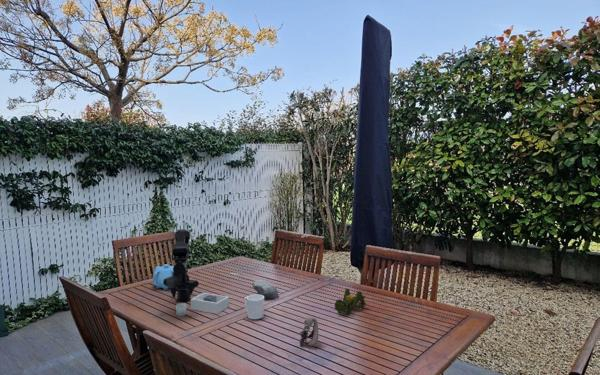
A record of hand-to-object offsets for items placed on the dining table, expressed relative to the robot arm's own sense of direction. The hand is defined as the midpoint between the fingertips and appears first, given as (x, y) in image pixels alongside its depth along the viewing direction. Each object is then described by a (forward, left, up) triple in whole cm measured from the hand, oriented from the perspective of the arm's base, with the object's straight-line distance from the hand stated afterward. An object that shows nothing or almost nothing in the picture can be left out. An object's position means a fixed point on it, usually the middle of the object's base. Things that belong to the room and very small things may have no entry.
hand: (181, 298), depth 198 cm
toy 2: (+80, +40, -8) cm, 90 cm away
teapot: (-38, +33, -8) cm, 51 cm away
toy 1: (+74, -6, -8) cm, 75 cm away
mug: (+37, +11, -8) cm, 40 cm away
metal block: (+9, +12, -7) cm, 17 cm away
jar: (0, 0, -8) cm, 8 cm away
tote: (+9, +12, -8) cm, 17 cm away
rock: (+28, +40, -8) cm, 50 cm away
